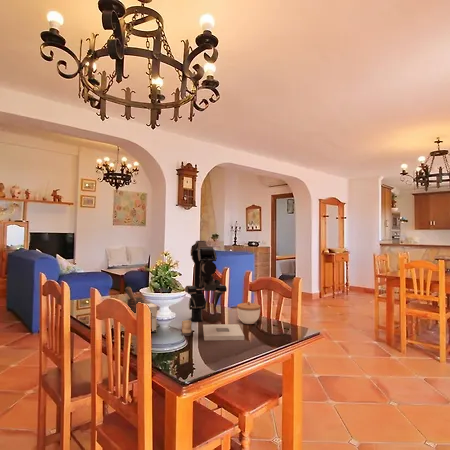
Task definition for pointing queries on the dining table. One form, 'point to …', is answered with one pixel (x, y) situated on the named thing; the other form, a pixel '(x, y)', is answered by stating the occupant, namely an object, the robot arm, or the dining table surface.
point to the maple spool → (186, 328)
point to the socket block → (222, 332)
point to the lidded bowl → (248, 312)
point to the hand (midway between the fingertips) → (205, 307)
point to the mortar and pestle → (133, 299)
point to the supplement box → (153, 315)
